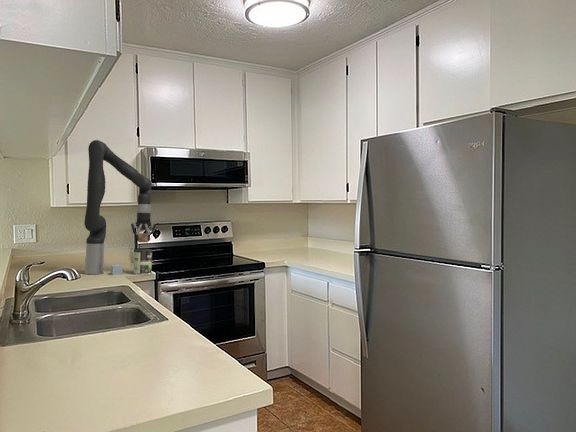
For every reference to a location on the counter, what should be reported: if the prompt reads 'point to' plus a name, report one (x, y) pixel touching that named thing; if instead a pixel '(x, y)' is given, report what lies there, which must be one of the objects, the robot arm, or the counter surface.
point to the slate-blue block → (116, 269)
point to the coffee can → (142, 262)
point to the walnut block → (143, 237)
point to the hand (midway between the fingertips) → (143, 241)
